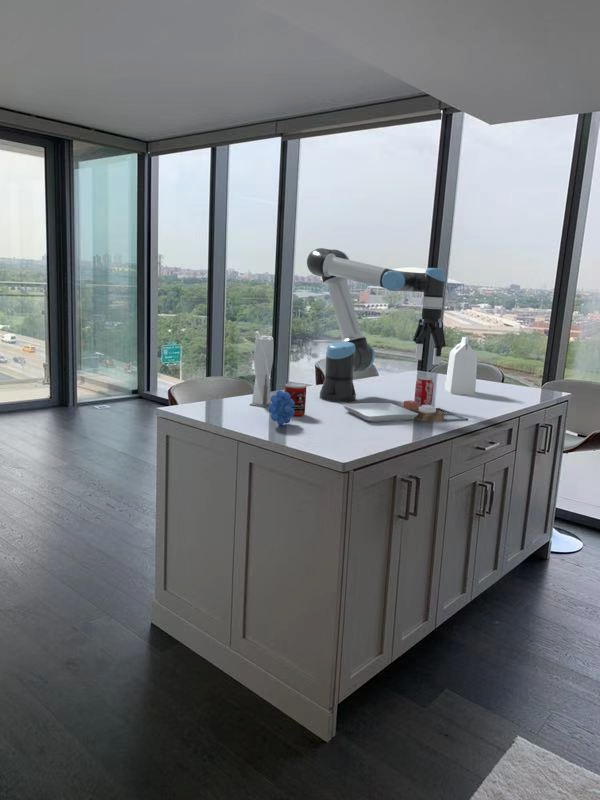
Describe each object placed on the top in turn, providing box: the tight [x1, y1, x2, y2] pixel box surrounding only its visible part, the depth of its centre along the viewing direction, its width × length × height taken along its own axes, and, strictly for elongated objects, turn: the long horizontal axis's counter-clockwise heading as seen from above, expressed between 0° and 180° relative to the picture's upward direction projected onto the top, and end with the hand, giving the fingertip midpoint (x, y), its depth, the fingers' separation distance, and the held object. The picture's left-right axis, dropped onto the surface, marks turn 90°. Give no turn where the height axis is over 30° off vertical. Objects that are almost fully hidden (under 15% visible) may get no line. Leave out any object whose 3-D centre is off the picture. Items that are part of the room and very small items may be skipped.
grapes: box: [268, 390, 295, 426], centre depth 204 cm, size 12×7×12 cm, turn 137°
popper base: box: [410, 408, 445, 422], centre depth 229 cm, size 9×9×3 cm
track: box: [435, 407, 469, 422], centre depth 237 cm, size 10×19×1 cm, turn 21°
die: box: [402, 400, 419, 410], centre depth 239 cm, size 4×4×4 cm
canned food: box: [284, 382, 307, 418], centre depth 222 cm, size 8×8×11 cm
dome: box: [418, 404, 437, 413], centre depth 229 cm, size 6×6×3 cm
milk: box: [444, 336, 478, 396], centre depth 289 cm, size 12×12×26 cm
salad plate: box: [342, 402, 418, 423], centre depth 228 cm, size 21×21×3 cm
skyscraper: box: [249, 330, 275, 408], centre depth 235 cm, size 8×8×28 cm
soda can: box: [413, 376, 434, 407], centre depth 249 cm, size 7×7×12 cm
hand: (426, 362), depth 246 cm, fingers open, 12 cm apart
